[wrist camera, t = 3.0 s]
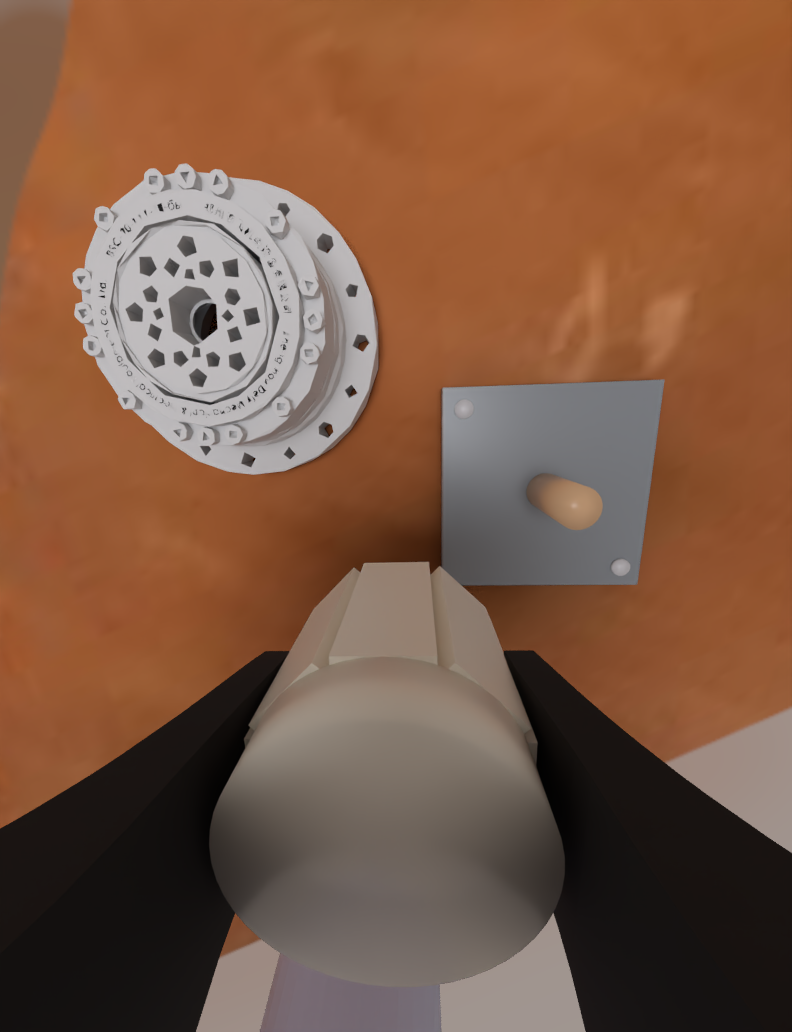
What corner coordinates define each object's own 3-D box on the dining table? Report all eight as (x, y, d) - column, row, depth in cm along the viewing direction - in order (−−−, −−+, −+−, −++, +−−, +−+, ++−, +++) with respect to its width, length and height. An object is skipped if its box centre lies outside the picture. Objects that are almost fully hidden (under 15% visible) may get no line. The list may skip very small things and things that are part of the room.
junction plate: (626, 577, 16) (693, 625, 12) (441, 577, 16) (448, 624, 13) (650, 382, 14) (739, 365, 10) (441, 389, 15) (449, 376, 11)
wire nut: (487, 720, 10) (553, 995, 5) (320, 718, 10) (235, 978, 5) (490, 560, 9) (579, 721, 4) (304, 563, 9) (180, 718, 4)
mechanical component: (376, 476, 16) (385, 204, 13) (362, 494, 12) (369, 100, 9) (152, 464, 16) (122, 199, 14) (58, 478, 12) (-10, 99, 10)
